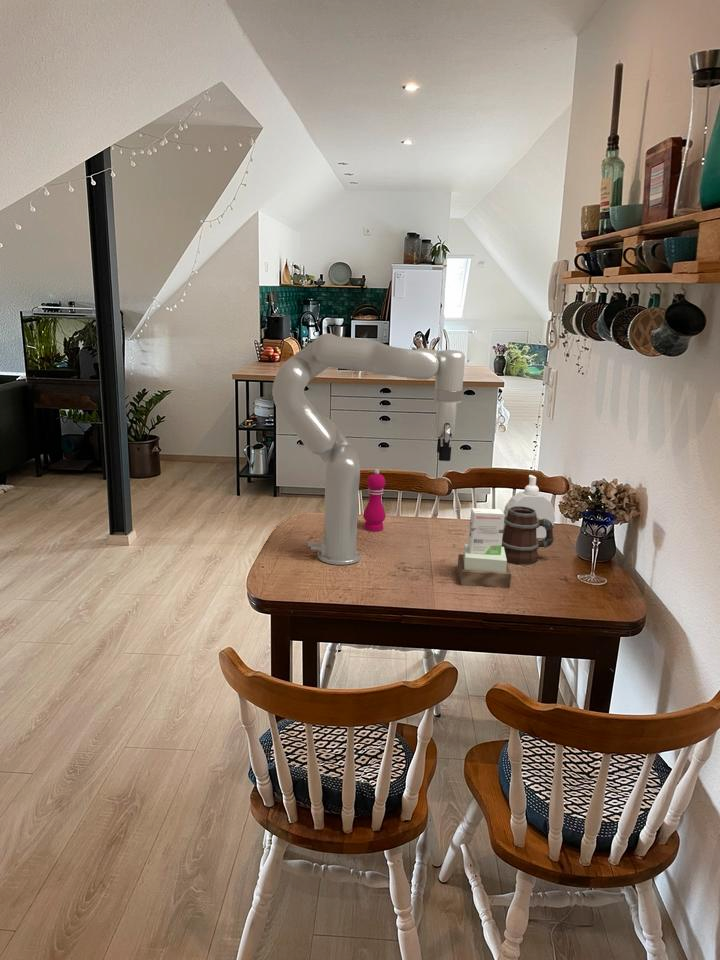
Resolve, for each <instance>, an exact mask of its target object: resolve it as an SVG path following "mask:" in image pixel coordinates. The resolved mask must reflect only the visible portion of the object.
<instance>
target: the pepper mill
mask: <svg viewBox="0 0 720 960" xmlns="http://www.w3.org/2000/svg"><path fill="white" fill-rule="evenodd" d="M366 484H367V486H368V488H367V490H368V491H367V493H368V497H369V498H368V502H367V505H366V506H365V509H364V510H363V514H362V515H363V516H362V517H363V520H364V521H365V522H364V524H363V525H364V526H363V529H364V530H366V531H368V532H381V531H383V530H384V526H385V525H384V523H383V522H384V521H385V519H386V511H385V509H384V505H383V502H382V496H383V494H384V487H385V485H386V479H385V477H384V476H383V475H382V474H381V473H380V470H379V469H377V468H376V469H374V470H373V473H371V474H369V476H367V479H366Z"/></svg>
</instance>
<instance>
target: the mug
mask: <svg viewBox="0 0 720 960" xmlns="http://www.w3.org/2000/svg"><path fill="white" fill-rule="evenodd" d="M504 523H505V527H504V528H503V537H502V547H504V550H505V554H506V559H507V563H511V564H515V565H531V564H534V563H536V562H538V560H539V552H538V549H539V548H544V549H545V548H548V547H550V546H551V545H552V544H553V543H554V541H555V537H554V532H553V530H554V525H552V523H551V522H550V521H549V520H548V519H545V518H543V519H539V518H537V515H536V511H535V510H534V509H531V508H529V507H523V506H514V507H511V508H510V509H509V510H508V514H507V516H506V517H504ZM539 526H543V527H545V529H546V537H545V538H542V539H541V540H540V539H539V538H536V528H539Z"/></svg>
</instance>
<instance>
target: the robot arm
mask: <svg viewBox="0 0 720 960" xmlns="http://www.w3.org/2000/svg"><path fill="white" fill-rule="evenodd" d="M465 357H466V356H465V353H464V352H462V351H459V350H451V349H448V350H447V349H444V350H438V349H431V348H425V347H419V348H416V349H411V348H410V349H409V348H402V347H396V346H392V345H388V344H385V343H382V342H381V341H376V340H373V339H364V338H363V339H362V338H354V337H346V336H339V335H336V334H333V333H323V334H321V335H319V336H318V337H316V338H315V339H314V340H313V341H311V343H309V344H308V345H306V346H305V347H303V348H301V349H300V350H299V351H298V352H297V353H295V354H293V355H292V356H291V357H289V358H288V359H287V360H286V361H285V362H283V364H281V366H280V367H279V368H278V371H277V373H276V375H275V377H274V380H273V384H272V391H271V392H272V399H273V403H274V405H275V407H276V410H277V411H278V412H279V414H280V416H281V417H282V418H283V419H284V420H285V422H286V423H287V424H288V426H290V428H291V429H292V431H293V432H294V434H296V436H297V438H298V439H299V440H300V441H301V442H302V444H303V445H304V446H305V448H306V449H307V450H308V452H310V453H312V454H314V455H318V456H319V457H320V459H321V460H322V461H323V462H324V463H325V469H324V471H325V473H324V515H323V516H324V519H323V521H324V523H323V539H322V540H320V541H319V542H318V541H309V540H308V542H307V543H308V544H307V548H308V549H311V551H318V552H317V559H318V560H320V561H322V562H323V563H326V564H331V565H334V566H335V565H337V566H340V565H341V566H346V565H352V564H355V563H357V562H359V561H361V559H362V554H361V552H360V551H359V550H358V549H357V540H358V539H357V535H358V517H359V516H358V514H359V513H358V512H359V491H360V481H361V480H360V478H361V466H360V463H361V462H360V457H359V454H358V451H357V450H356V449H355V447H354V446H353V445H352V443H350V441H349V440H348V438H347V437H346V435H344V433H343V432H342V431H341V430H340V428H339V427H338V425H336V424H335V423H334V421H333V420H332V419H330V418H329V417H326V416H325V415H321V414H320V412H318V411H317V409H316V408H315V406H314V405H313V404H312V403H311V401H309V400H308V398H307V397H306V395H305V389H306V386H307V385H308V383H309V382H310V381H312V380H313V379H314V378H315V377H317V376H319V375H320V374H321V373H323V372H324V371H325V370H327V369H328V368H332V369H333V368H335V369H343V370H352V371H358V372H366V373H372V374H375V375H387V376H391V377H392V376H394V377H399V378H406V379H414V380H428V379H432V378H433V377H434V376H435V379H434V380H435V381H434V382H435V384H434V393H433V395H434V396H433V401H434V402H436V403H437V404H436V411H435V424H434V436H435V438H436V439H437V447H436V452H437V453H438V460H439V461H441V462H450V461H451V455H452V439H453V438H454V435H455V427H456V419H457V408H458V404H460V403H462V399H463V388H464V387H463V385H464V374H465V373H464V372H465V362H466V361H465V359H466V358H465Z"/></svg>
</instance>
